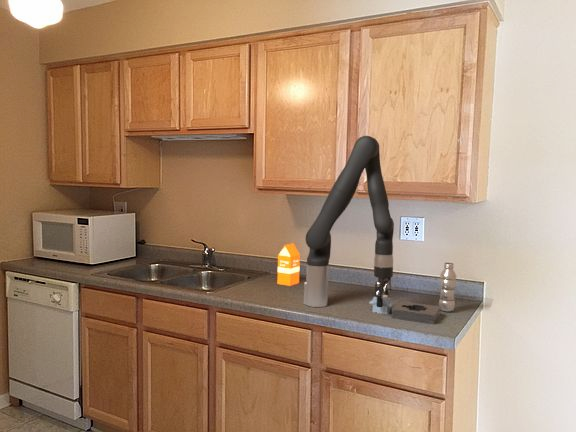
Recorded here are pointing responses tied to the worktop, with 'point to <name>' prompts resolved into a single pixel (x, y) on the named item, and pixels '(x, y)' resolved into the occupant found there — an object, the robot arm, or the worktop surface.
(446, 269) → the plastic bottle
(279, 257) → the orange juice
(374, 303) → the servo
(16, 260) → the worktop surface
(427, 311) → the block with stepped hole
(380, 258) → the robot arm
